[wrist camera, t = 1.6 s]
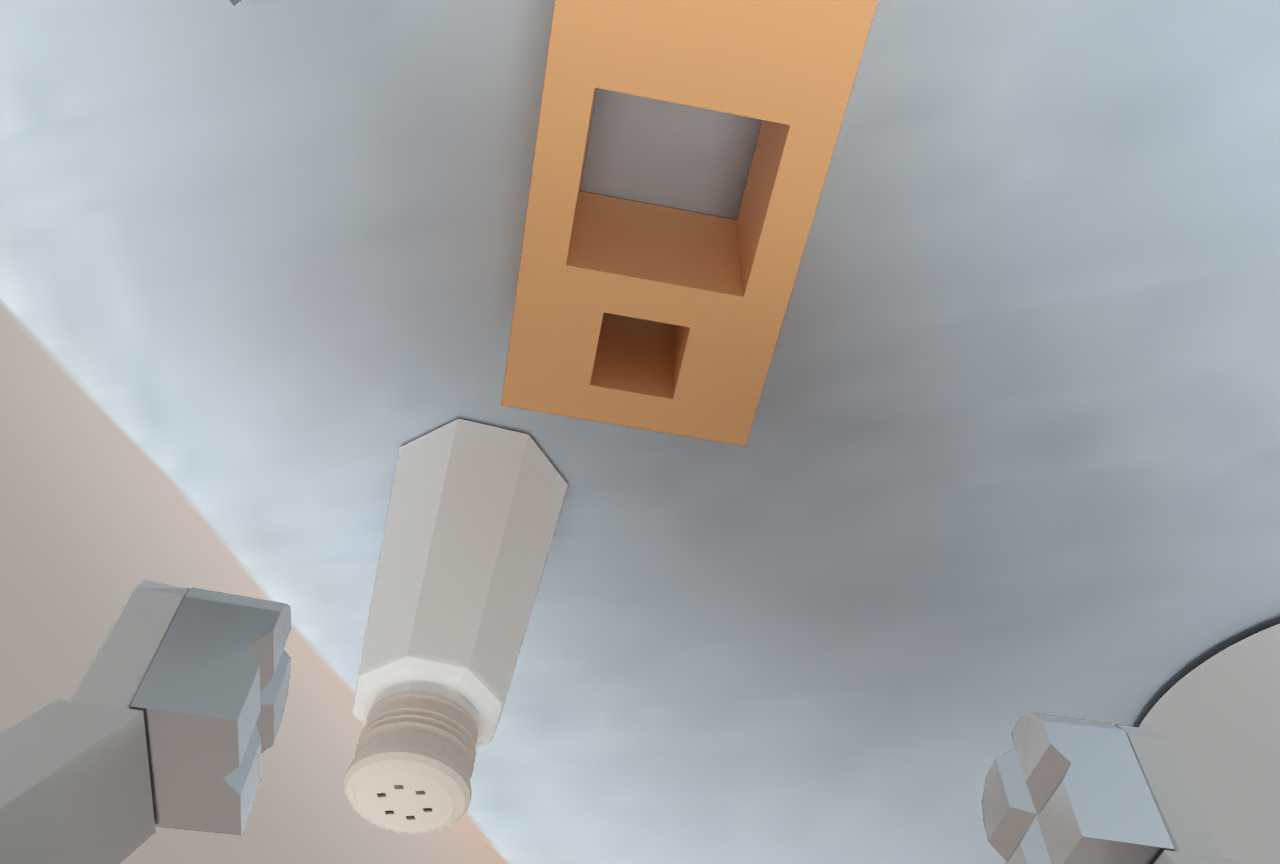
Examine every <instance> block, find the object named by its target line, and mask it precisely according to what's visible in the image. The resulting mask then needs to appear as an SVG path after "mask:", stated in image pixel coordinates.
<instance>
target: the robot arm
mask: <svg viewBox="0 0 1280 864" xmlns="http://www.w3.org/2000/svg"><path fill="white" fill-rule="evenodd" d="M290 630H291V612H290V606H289V605H288V604H285V603H279V602H273V601H268V600H261V599H256V598H250V597H244V596H239V595H232V594H227V593H221V592H215V591H209V590H204V589H198V588H188V587H182V586H176V585H170V584H164V583H158V582H152V581H146V580H143V581H142V582H141V583H140V584H138V585H137V586H136V588H134V589H133V590H132V591H131V593H130V594H129V596H128V598H127V600H126V602H125V603H124V605H123V607H122V609H121V611H120V612H119V614H118V616H117V618H116V620H115V621H114V623H113V625H112V627H111V629H110V631H109V632H108V634H107V636H106V637H105V639H104V641H103V643H102V645H101V646H100V648H99V650H98V652H97V654H96V655H95V657H94V659H93V661H92V663H91V664H90V666H89V668H88V670H87V672H86V673H85V675H84V677H83V679H82V681H81V682H80V684H79V686H78V688H77V690H76V691H75V693H74V695H73V697H72V698H71V700H63V699H54V700H52V701H51V702H49V703H47V704H46V705H44V706H43V707H41V708H39V709H38V710H36V711H34V712H33V713H31V714H29V715H28V716H26V717H24V718H23V719H21V720H20V721H18V722H16V723H15V724H13V725H11V726H10V727H8V728H7V729H5V730H3V731H2V732H0V864H120V863H121V862H122V861H123V860H124V859H126V858H127V857H128V856H129V855H130V854H131V853H132V852H134V851H135V850H136V849H137V848H138V847H139V846H140V845H141V844H142V843H144V842H145V841H146V840H147V839H148V838H149V837H150V836H151V835H153V834H154V833H155V831H156V830H155V827H164V828H174V829H184V830H194V831H204V832H214V833H225V834H235V835H241V834H242V832H243V829H244V826H245V823H246V820H247V818H248V815H249V812H250V809H251V806H252V804H253V801H254V798H255V795H256V793H257V790H258V787H259V784H260V781H261V753H263V752H264V751H265V750H267V749H268V748H269V747H271V746H272V745H273V744H274V742H275V739H276V736H277V732H278V730H279V727H280V724H281V720H282V716H283V712H284V708H285V703H286V699H287V695H288V688H289V679H290V662H291V658H290V656H289V655H288V654H287V653H286V652H285V651H284V646H285V643H286V640H287V638H288V635H289V632H290ZM1011 734H1012V738H1013V741H1014V744H1015V747H1016V748H1015V749H1013V750H1011V751H1009V752H1007V753H1005V754H1003V755H1002V756H1000V757H998V758H996V760H995V761H994V763H993V765H992V767H991V769H990V771H989V773H988V775H987V777H986V780H985V786H984V792H983V798H982V808H983V821H984V825H985V829H986V833H987V837H988V841H989V842H990V843H991V845H992V846H993V847H994V848H995V849H996V850H997V851H998V852H999V853H1000V854H1001V856H1002V857H1003V858H1004V859H1005V860H1006V863H1005V864H1280V624H1277V625H1275V626H1272V627H1270V628H1267V629H1265V630H1262V631H1260V632H1258V633H1256V634H1254V635H1251V636H1249V637H1247V638H1245V639H1243V640H1241V641H1239V642H1237V643H1235V644H1233V645H1231V646H1230V647H1228V648H1226V649H1224V650H1223V651H1221V652H1219V653H1217V654H1216V655H1214V656H1213V657H1211V658H1209V659H1208V660H1206V661H1205V662H1203V663H1202V664H1200V665H1199V666H1198V667H1196V668H1195V669H1193V670H1192V671H1191V672H1189V673H1188V674H1187V675H1186V676H1184V677H1183V678H1182V679H1181V680H1179V681H1178V682H1177V683H1176V684H1175V685H1174V686H1173V687H1172V688H1170V689H1169V690H1168V691H1167V692H1166V693H1165V694H1164V695H1163V696H1162V697H1161V698H1160V699H1159V700H1158V702H1157V703H1156V704H1155V705H1154V706H1153V708H1152V709H1151V710H1150V711H1149V712H1148V714H1147V715H1146V717H1145V718H1144V719H1143V721H1142V722H1141V724H1140V726H1139V727H1132V726H1125V725H1118V724H1116V725H1113V724H1110V723H1106V722H1098V721H1091V720H1084V719H1076V718H1069V717H1061V716H1054V715H1047V714H1039V713H1032V712H1030V713H1028V714H1027V715H1025V716H1024V717H1022V718H1020V720H1019V721H1018V723H1017V725H1016V726H1015V728H1014V729H1013V731H1012V733H1011Z"/></svg>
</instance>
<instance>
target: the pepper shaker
mask: <svg viewBox="0 0 1280 864" xmlns="http://www.w3.org/2000/svg"><path fill="white" fill-rule="evenodd" d="M567 487H568V484H567V483H566V482H565V481H564V479H563V478H562V477H561V475H560V474H559V473H558V472H557V470H556V469H555V468H554V466H553V465H552V464H551V463H550V461H549V460H548V459H547V457H546V456H545V455H544V454H543V452H542V451H541V450H540V448H539V447H538V446H537V445H536V443H535V442H534V441H533V439H532V438H531V437H530V436H529V435H528V434H524V433H520V432H516V431H511V430H507V429H503V428H498V427H494V426H489V425H485V424H481V423H476V422H472V421H468V420H463V419H456V420H454V421H452V422H450V423H448V424H446V425H444V426H442V427H440V428H438V429H436V430H434V431H432V432H430V433H428V434H426V435H424V436H422V437H420V438H418V439H416V440H414V441H412V442H410V443H408V444H405V445H403V446H401V447H400V448H399V454H398V459H397V465H396V470H395V476H394V481H393V486H392V492H391V497H390V503H389V508H388V514H387V519H386V525H385V530H384V535H383V541H382V546H381V552H380V557H379V563H378V568H377V574H376V579H375V585H374V590H373V595H372V601H371V606H370V612H369V617H368V623H367V628H366V634H365V639H364V645H363V650H362V658H361V664H360V669H359V675H358V681H357V686H356V692H355V699H354V706H353V715H354V716H355V717H356V718H357V719H358V720H360V721H361V722H362V723H363V724H364V725H365V727H364V728H363V730H362V731H361V736H360V738H359V743H358V745H357V748H356V754H355V755H356V757H355V759H354V760H353V762H352V763H351V765H350V766H349V768H348V769H347V772H346V775H345V779H344V785H343V787H344V791H345V795H346V798H347V799H348V801H349V803H350V804H351V806H352V807H353V809H354V810H355V811H356V812H357V813H358V814H359V815H360V816H362V817H363V818H364V819H365V820H368V821H369V822H371V823H373V824H374V825H376V826H379V827H382V828H384V829H388V830H390V831H395V832H401V833H409V834H412V833H413V834H423V833H430V832H436V831H438V830H441V829H444V828H447V827H448V826H450V825H452V824H453V823H454V822H456V821H457V820H459V819H460V818H461V817H462V816H463V815H464V814H465V812H466V811H467V810H468V807H469V804H470V800H471V785H470V777H471V775H472V772H473V768H474V766H473V765H474V762H475V755H476V749H475V747H478V746H480V745H483V744H486V743H488V742H491V741H492V739H493V737H494V734H495V731H496V728H497V725H498V722H499V720H500V716H501V713H502V710H503V706H504V703H505V699H506V696H507V693H508V689H509V686H510V682H511V679H512V675H513V672H514V669H515V665H516V662H517V658H518V655H519V652H520V648H521V645H522V641H523V638H524V635H525V631H526V628H527V624H528V621H529V618H530V614H531V611H532V607H533V604H534V601H535V597H536V594H537V590H538V587H539V583H540V580H541V577H542V573H543V570H544V566H545V563H546V560H547V556H548V553H549V549H550V546H551V543H552V539H553V536H554V532H555V529H556V525H557V522H558V518H559V515H560V511H561V508H562V504H563V501H564V497H565V494H566V491H567Z"/></svg>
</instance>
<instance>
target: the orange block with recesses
mask: <svg viewBox="0 0 1280 864" xmlns="http://www.w3.org/2000/svg"><path fill="white" fill-rule="evenodd" d="M877 3H878V0H555V5H554V13H553V20H552V28H551V35H550V42H549V50H548V57H547V65H546V72H545V80H544V87H543V95H542V102H541V110H540V117H539V125H538V132H537V140H536V147H535V155H534V162H533V170H532V177H531V185H530V192H529V200H528V207H527V215H526V222H525V230H524V237H523V245H522V252H521V260H520V267H519V275H518V282H517V290H516V297H515V305H514V312H513V320H512V327H511V335H510V342H509V349H508V357H507V364H506V372H505V379H504V387H503V394H502V402H501V405H502V406H508V407H514V408H520V409H526V410H532V411H538V412H544V413H550V414H556V415H562V416H568V417H574V418H580V419H586V420H591V421H597V422H603V423H609V424H615V425H621V426H627V427H633V428H639V429H645V430H651V431H657V432H663V433H669V434H675V435H681V436H687V437H693V438H699V439H705V440H711V441H717V442H723V443H729V444H735V445H740V446H746V443H747V440H748V437H749V433H750V430H751V427H752V423H753V420H754V416H755V413H756V410H757V406H758V403H759V400H760V396H761V393H762V390H763V386H764V383H765V379H766V376H767V373H768V369H769V366H770V363H771V359H772V356H773V353H774V349H775V346H776V343H777V339H778V336H779V332H780V329H781V326H782V322H783V319H784V316H785V312H786V309H787V306H788V302H789V299H790V295H791V292H792V289H793V285H794V282H795V279H796V275H797V272H798V269H799V265H800V262H801V259H802V255H803V252H804V248H805V245H806V242H807V238H808V235H809V232H810V228H811V225H812V222H813V218H814V215H815V211H816V208H817V205H818V201H819V198H820V195H821V191H822V188H823V185H824V181H825V178H826V175H827V171H828V168H829V164H830V161H831V158H832V154H833V151H834V148H835V144H836V141H837V138H838V134H839V131H840V127H841V124H842V121H843V117H844V114H845V111H846V107H847V104H848V101H849V97H850V94H851V91H852V87H853V84H854V80H855V77H856V74H857V70H858V67H859V64H860V60H861V57H862V54H863V50H864V47H865V44H866V40H867V37H868V33H869V30H870V27H871V23H872V20H873V17H874V13H875V10H876V7H877ZM596 88H599V89H604V90H609V91H615V92H620V93H625V94H630V95H635V96H641V97H646V98H651V99H656V100H662V101H667V102H672V103H677V104H682V105H688V106H693V107H698V108H703V109H708V110H714V111H719V112H724V113H729V114H734V115H740V116H745V117H750V118H755V119H761V120H762V124H761V128H760V131H759V135H758V139H757V143H756V147H755V151H754V155H753V159H752V163H751V167H750V171H749V175H748V179H747V183H746V187H745V190H744V194H743V198H742V202H741V206H740V210H739V214H738V218H737V220H734V219H729V218H724V217H718V216H713V215H707V214H702V213H696V212H691V211H686V210H680V209H675V208H669V207H664V206H658V205H653V204H648V203H642V202H637V201H631V200H626V199H620V198H615V197H610V196H604V195H599V194H593V193H588V192H582V191H580V187H581V181H582V175H583V168H584V162H585V156H586V150H587V144H588V137H589V131H590V125H591V119H592V113H593V107H594V100H595V94H596Z"/></svg>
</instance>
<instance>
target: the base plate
mask: <svg viewBox="0 0 1280 864" xmlns="http://www.w3.org/2000/svg"><path fill="white" fill-rule="evenodd" d="M239 1H241V0H230V2H231V3H232V4H233V5H234V6H235V5H236V4H237V3H238V2H239Z"/></svg>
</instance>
